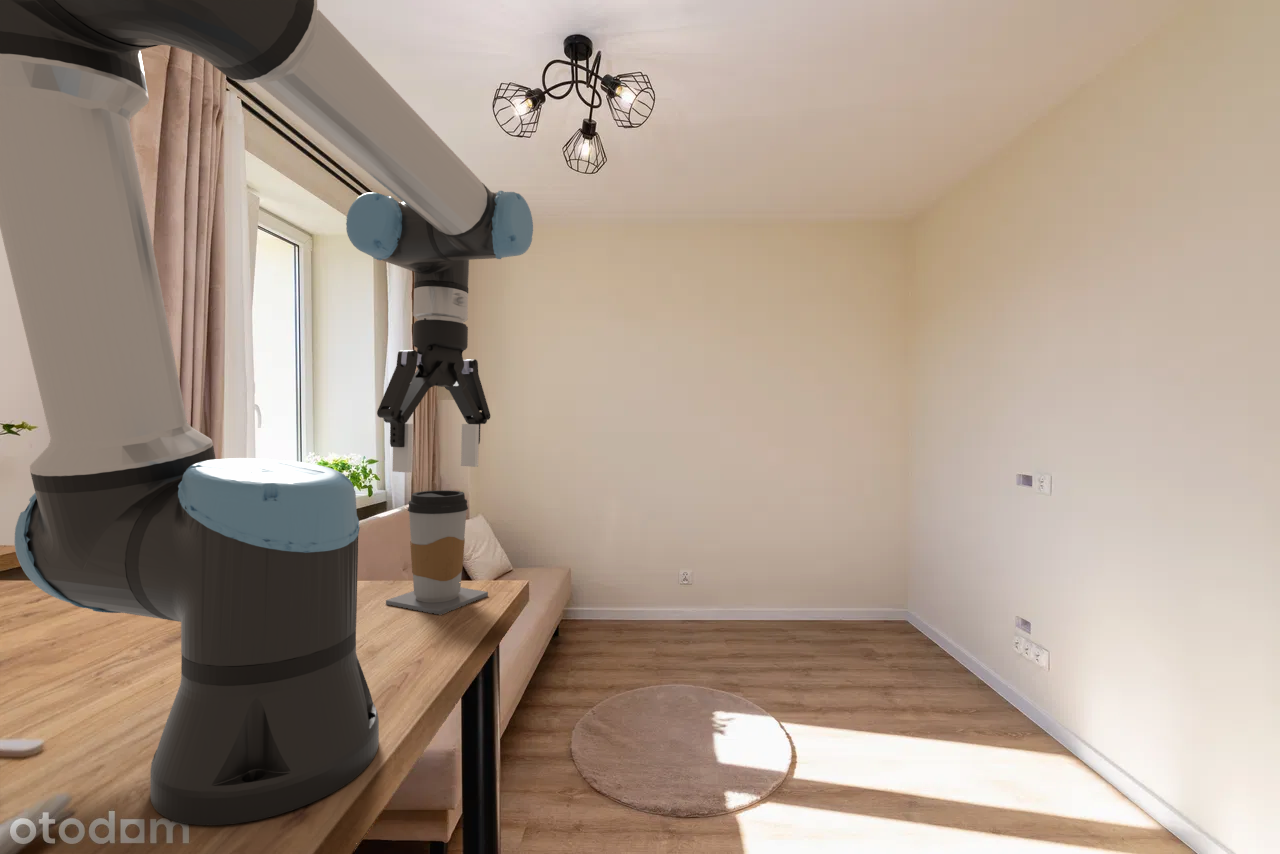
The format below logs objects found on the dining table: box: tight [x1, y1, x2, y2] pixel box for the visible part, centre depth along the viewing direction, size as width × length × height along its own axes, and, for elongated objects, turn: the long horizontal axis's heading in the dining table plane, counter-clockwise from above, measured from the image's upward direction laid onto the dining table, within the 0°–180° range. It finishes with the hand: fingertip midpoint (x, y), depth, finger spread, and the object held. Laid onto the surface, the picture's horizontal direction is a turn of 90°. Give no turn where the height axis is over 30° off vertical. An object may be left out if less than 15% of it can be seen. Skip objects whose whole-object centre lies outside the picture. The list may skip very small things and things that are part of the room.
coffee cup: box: [407, 489, 469, 603], centre depth 90 cm, size 8×8×15 cm
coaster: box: [385, 586, 489, 616], centre depth 91 cm, size 10×10×1 cm
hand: (438, 469), depth 90 cm, fingers open, 13 cm apart
